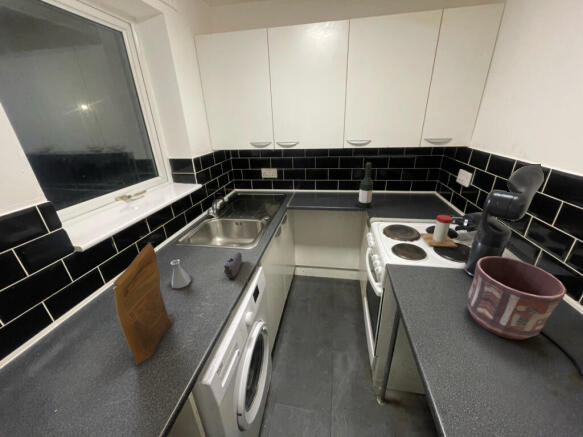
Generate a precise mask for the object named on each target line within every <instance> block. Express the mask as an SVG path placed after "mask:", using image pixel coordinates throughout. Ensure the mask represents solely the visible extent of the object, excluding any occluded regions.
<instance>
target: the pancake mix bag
mask: <svg viewBox="0 0 583 437" xmlns="http://www.w3.org/2000/svg"><path fill="white" fill-rule="evenodd" d="M160 280H161V279H160V272H159V268H158V262H157V254H156V250H155V248H154V246H153V244H151V242H148V243H147V244H146V245H145V246H144V247H143V248H142V249H141V251H140V252H139V253H138V254H137V255H136V256H135V257H134V259H133V260H132V261H131V263H130V264H129V265H128V267H126V269H125V270H124V271H123V272H121V274H120V275H119V276H117V278H116V279H115V280H114V281H112V282H113V284H114V287H113V288H112V289H111V290H112V295H113V302H114V310H115V315H116V319H117V323H118V325H119V328H120V331H121V333H122V335H123V337H124V339H125V341H126V343H127V346H128V348H129V351H130V353H131V354H132V356H133V358H134V361H135V365H136V366H138V365H139V364H141V363H143V362H145V361H146V360H148V359H150V357H152V356H153V355H154V353H155V352H156V350H157V348H158V347H159V345H160V344H161V342H162V340H163V339H164V337H165V335H166V333H167V332H168V330H169V328H170V327H171V326H172V318H171V317H170V315H169V314H168V311H167V307H166V305H165V301H164V298H163V295H162V292H161V281H160Z"/></svg>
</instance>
